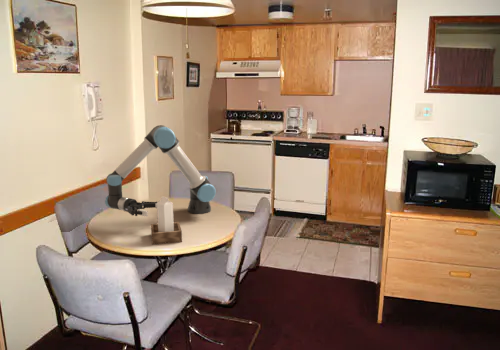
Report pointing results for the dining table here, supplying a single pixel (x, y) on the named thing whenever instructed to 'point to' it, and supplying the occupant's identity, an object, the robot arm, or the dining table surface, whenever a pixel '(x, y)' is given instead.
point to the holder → (166, 234)
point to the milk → (165, 215)
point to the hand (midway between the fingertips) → (156, 210)
